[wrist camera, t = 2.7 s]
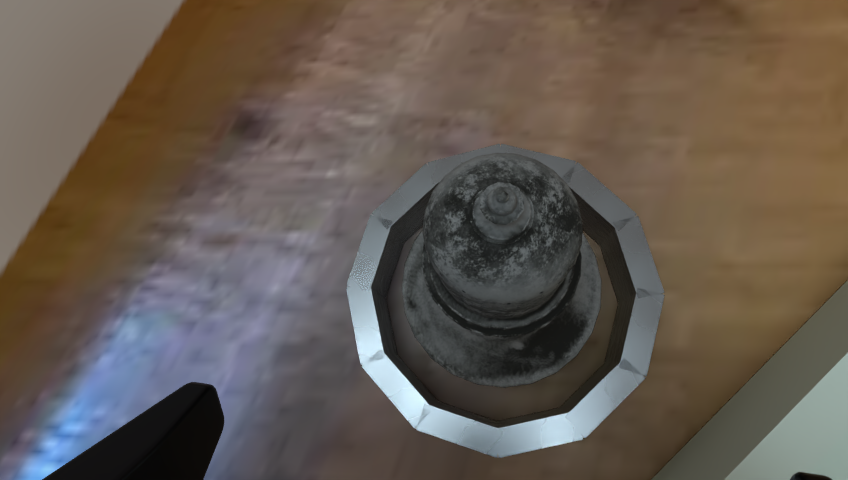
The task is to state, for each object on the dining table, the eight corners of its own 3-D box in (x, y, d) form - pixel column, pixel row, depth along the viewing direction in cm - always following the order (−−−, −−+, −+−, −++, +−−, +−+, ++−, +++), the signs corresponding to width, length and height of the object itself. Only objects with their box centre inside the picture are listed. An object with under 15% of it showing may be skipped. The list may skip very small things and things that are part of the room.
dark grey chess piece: (438, 207, 21) (365, -3, 9) (596, 239, 20) (739, 47, 8) (400, 361, 19) (259, 345, 8) (565, 404, 18) (683, 456, 7)
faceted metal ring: (698, 305, 19) (729, 294, 16) (496, 505, 18) (497, 525, 15) (500, 126, 21) (500, 94, 19) (316, 296, 20) (292, 285, 18)
